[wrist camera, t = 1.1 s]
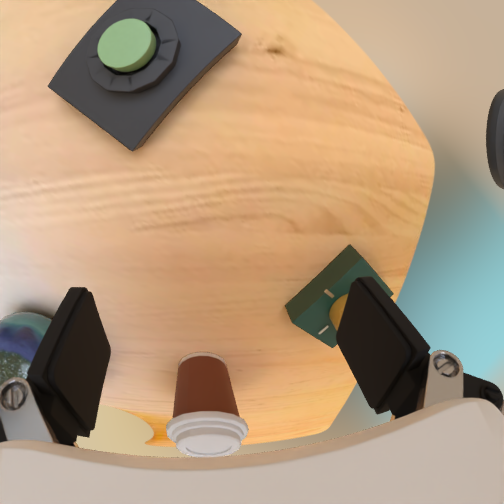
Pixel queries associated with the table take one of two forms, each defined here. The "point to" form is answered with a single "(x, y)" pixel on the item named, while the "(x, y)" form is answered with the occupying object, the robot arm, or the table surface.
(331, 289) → the panel
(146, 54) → the green short cylinder
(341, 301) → the knob
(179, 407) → the coffee cup
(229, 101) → the table surface
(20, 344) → the vase
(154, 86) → the button base
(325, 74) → the table surface
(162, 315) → the table surface
